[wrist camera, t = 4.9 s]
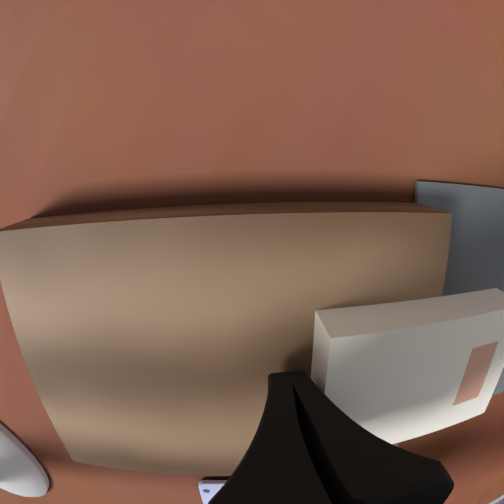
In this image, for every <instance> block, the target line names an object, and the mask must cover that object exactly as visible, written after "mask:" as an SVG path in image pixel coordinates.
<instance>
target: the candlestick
mask: <svg viewBox="0 0 504 504" xmlns="http://www.w3.org/2000/svg"><path fill="white" fill-rule="evenodd" d="M0 488H2V489H4V490H6V491H8V492H11V493H14V494H17V495H20V496H26V497H39V496H43V495H44V494H45V493H46V492H47V490H48V488H49V480H48V477H47V475H46V473H45V471H44V469H43V468H42V466H41V465H40V463H39V462H38V461H37V460H36V458H35V457H34V456H33V455H32V454H31V452H30V451H29V450H28V449H27V448H26V447H25V446H24V445H23V444H22V443H21V442H20V441H19V440H18V439H17V438H16V437H15V436H14V435H13V434H12V433H11V432H10V431H9V430H8V429H6V428H5V427H4V426H3V425H2V424H1V423H0Z"/></svg>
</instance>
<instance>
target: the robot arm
mask: <svg viewBox="0 0 504 504" xmlns="http://www.w3.org/2000/svg"><path fill="white" fill-rule="evenodd" d="M198 487H199V491H200V494H201V497H202V501H203V504H443V503H444V502H445V500H446V499H447V498H448V496H449V495H450V493H451V492H452V490H453V487H454V482H453V480H452V479H451V477H450V475H449V474H448V472H447V470H446V469H445V468H444V466H443V465H442V464H441V462H440V461H437V460H433V459H430V458H426V457H423V456H420V455H416V454H414V453H411V452H408V451H406V450H404V449H401V448H399V447H397V446H394V445H392V444H390V443H388V442H386V441H385V440H383V439H381V438H379V437H377V436H375V435H374V434H372V433H370V432H369V431H367V430H366V429H364V428H363V427H362V426H360V425H359V424H357V423H356V422H355V421H353V420H352V419H351V418H350V417H349V416H347V415H346V414H345V413H344V412H343V411H342V410H340V409H339V408H338V407H337V406H336V405H335V404H334V403H333V402H332V401H331V400H330V399H329V398H328V397H327V396H326V395H325V394H324V393H323V392H322V391H321V389H320V388H319V387H318V386H317V385H316V384H315V383H314V381H313V380H312V379H311V378H310V377H309V375H308V374H307V373H306V372H305V371H304V370H302V371H291V372H279V373H270V374H269V375H268V395H267V400H266V404H265V408H264V412H263V415H262V418H261V420H260V423H259V426H258V429H257V431H256V433H255V436H254V438H253V440H252V442H251V444H250V446H249V448H248V450H247V451H246V453H245V455H244V457H243V459H242V460H241V462H240V463H239V465H238V466H237V468H236V469H235V471H234V472H233V473H232V475H231V476H230V477H229V479H228V480H202V481H200V482H199V486H198ZM496 504H504V499H502V500H501V501H499V502H498V503H496Z"/></svg>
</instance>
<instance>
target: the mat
mask: <svg viewBox="0 0 504 504" xmlns="http://www.w3.org/2000/svg"><path fill="white" fill-rule="evenodd" d="M415 203H418V204H422V205H426V206H429V207H433V208H436V209H440V210H443V211H447V212H450V213H452V224H451V235H450V244H449V252H448V260H447V267H446V274H445V280H444V286H443V292H442V296H447V295H454V294H461V293H467V292H474V291H480V290H486V289H492V288H497V289H499V290H501V291H502V292H504V189H501V188H493V187H483V186H474V185H463V184H452V183H439V182H426V181H415ZM503 391H504V367H503V370H502V372H501V375H500V377H499V380H498V382H497V385H496V387H495V390H494V392H493V394H492V396H494V395H496V394H499V393H501V392H503ZM492 396H491V397H492Z"/></svg>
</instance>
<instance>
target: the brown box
mask: <svg viewBox="0 0 504 504" xmlns="http://www.w3.org/2000/svg"><path fill="white" fill-rule="evenodd" d="M451 224H452V213H450V212H447V211H443V210H440V209H436V208H433V207H429V206H426V205H422V204H418V203H415V202H358V201H322V202H262V203H232V204H208V205H187V206H170V207H153V208H139V209H125V210H112V211H100V212H89V213H78V214H67V215H57V216H48V217H39V218H30V219H26V220H24V221H21V222H18V223H15V224H12V225H10V226H7V227H4V228H2V229H0V280H1V284H2V288H3V293H4V296H5V300H6V304H7V308H8V311H9V315H10V318H11V321H12V325H13V328H14V331H15V334H16V337H17V340H18V343H19V346H20V349H21V351H22V354H23V357H24V360H25V362H26V365H27V368H28V370H29V373H30V375H31V378H32V380H33V382H34V385H35V387H36V389H37V392H38V394H39V396H40V398H41V401H42V403H43V405H44V407H45V409H46V411H47V413H48V415H49V417H50V419H51V421H52V423H53V425H54V427H55V429H56V431H57V433H58V435H59V437H60V439H61V440H62V442H63V444H64V446H65V448H66V449H67V451H68V453H69V455H70V456H71V458H72V460H73V461H75V462H80V463H85V464H90V465H96V466H101V467H107V468H114V469H120V470H128V471H136V472H145V473H156V474H168V475H187V476H231V475H232V473H233V472H234V471H235V469H236V468H237V466H238V465H239V463H240V462H241V460H242V459H243V457H244V455H245V453H246V451H247V450H248V448H249V446H250V444H251V442H252V440H253V438H254V436H255V433H256V431H257V429H258V426H259V423H260V420H261V418H262V415H263V412H264V408H265V404H266V400H267V395H268V375H269V374H270V373H279V372H291V371H302V370H304V371H305V372H306V373H307V374H308V375H309V377H310V378H311V366H312V353H313V338H314V322H315V310H322V309H333V308H344V307H355V306H365V305H375V304H384V303H393V302H401V301H410V300H418V299H425V298H433V297H440V296H442V292H443V286H444V280H445V274H446V267H447V260H448V252H449V244H450V235H451ZM392 445H394V446H397V447H398V445H399V443H395V444H392Z"/></svg>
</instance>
